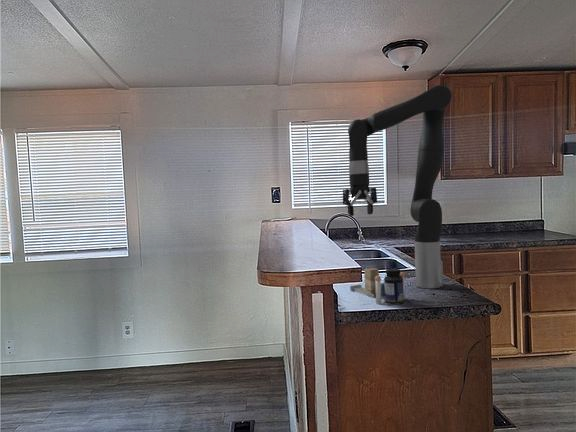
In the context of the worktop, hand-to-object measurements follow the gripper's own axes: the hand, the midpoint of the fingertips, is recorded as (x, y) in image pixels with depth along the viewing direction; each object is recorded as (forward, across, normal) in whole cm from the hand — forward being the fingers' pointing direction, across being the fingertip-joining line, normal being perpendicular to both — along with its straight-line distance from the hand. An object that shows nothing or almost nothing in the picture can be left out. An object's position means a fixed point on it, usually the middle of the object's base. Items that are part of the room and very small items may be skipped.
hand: (360, 215), depth 174 cm
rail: (+28, +6, +10) cm, 30 cm away
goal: (+28, +6, +24) cm, 37 cm away
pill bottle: (+28, +5, +26) cm, 39 cm away
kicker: (+27, +6, +17) cm, 32 cm away
